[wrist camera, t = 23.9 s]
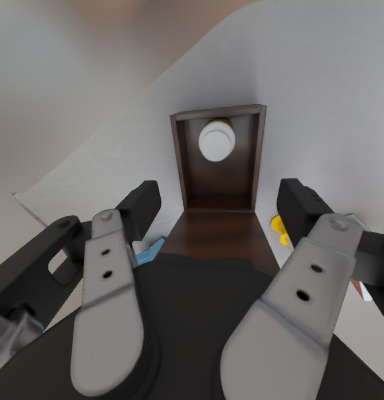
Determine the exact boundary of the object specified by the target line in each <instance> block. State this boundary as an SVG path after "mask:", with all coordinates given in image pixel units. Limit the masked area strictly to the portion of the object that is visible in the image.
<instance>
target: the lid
mask: <svg viewBox="0 0 384 400" xmlns="http://www.w3.org/2000/svg"><path fill="white" fill-rule="evenodd" d="M159 253H171V254H181V255H184V256H187V257H191V258H194V259H197V260H200V261H206V260H213V259H221V258H239V259H252V265H253V268H257V269H259V270H261V271H264V272H266V273H268V274H269V275H271V276H272V277H274V278H275V276H276V275H277V274H278V272H279V271H280V267H279V265H278V263H277V261H276V258H275V256H274V254H273V252H272V249H271V247H270V245H269V243H268V240H267V238H266V236H265V234H264V231H263V229H262V227H261V225H260V222H259V220H258V218H257V216H256V213H255V212H205V211H184V212H183V213H182V215H181V216H180V218H179V219H178V221H177V223H176V224H175V226H174V227H173V229H172V230H171V232H170V234H169V235H168V237H167V238H166V240H165V241H164V243H163V245H162V246H161V248H160V249H159V251H158V252H157V254H156V256H155V257H154V259H153V260H156V258H157V256H158V254H159Z"/></svg>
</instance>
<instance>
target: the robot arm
mask: <svg viewBox="0 0 384 400" xmlns="http://www.w3.org/2000/svg"><path fill="white" fill-rule="evenodd" d="M160 208H161V197H160V192H159V188H158V184H157V181H155V180H147V181H144V182H143V183H142V184H141V185H140V186H139V187H138V188H136V189H134V190H133V191H131V192H130V193H129V194H128V196H126V197H125V199H124V200H123V201H122V202H121V203H120V204H119V205H118V206H117V207H116V208H115V209H108V210H104V211H102V212H100V213H98V214H96V215H95V216H94V217H93V219H92V221H87V222H82V223H81V222H80V220H79V219H78V217H77V216H73V215H72V216H66V217H63V218H60V219H58V220H56V221H55V222H53V223H52V224H51V225H49V226H48V227H47V228H46V229H44V230H43V231H42V232H41V233H39V234H38V235H37V236H36V237H34V238H33V239H32V240H31V241H29V242H28V243H27V244H25V245H24V246H23V247H22V248H20V249H19V250H18V251H17V252H16V253H14V254H13V255H12V256H10V257H9V258H8V259H7V260H6V261H4V262H3V263H2V264H0V400H384V381H383V380H382V379H381V378H380V377H379V376H378V375H377V374H376V373H375V372H373V371H372V370H371V369H370V368H369V367H368V366H367V365H366V364H365V363H364V362H363V361H362V360H361V359H360V358H359V357H358V356H357V355H356V354H355V353H354V352H353V351H352V350H351V349H350V348H349V347H347V346H346V345H345V344H344V343H343V342H342V341H341V340H340V339H339V338H338V337H337V336H336V335H335V334H334V333H333V331H334V329H335V325H336V322H337V319H338V316H339V313H340V310H341V307H342V304H343V301H344V298H345V294H346V291H347V288H348V285H349V282H350V279H353V280H357V281H360V282H362V283H363V285H364V287H365V288H366V290H367V291H368V293H369V294H370V296H371V297H372V299H373V301H374V302H375V304H376V305H377V306H378V308H379V310H380V311H381V313H382V315H383V316H384V234H379V233H375V232H370V231H365V230H363V227H362V226H361V225H360V223H358V222H357V221H355V220H354V219H352V218H350V217H347V216H344V215H340V214H335V213H334V212H333V211H332V209H331V208H330V207H329V206H328V205H327V204H326V203H325V202H324V201H323V200H322V198H321V197H319V195H318V194H317V193H316V192H315V191H314V190H312V189H310V188H309V187H307V186H303V185H302V184H301V183H300V181H299V180H298V179H297V178H288V179H282V180H281V183H280V188H279V193H278V198H277V211H278V213H279V216H280V218H281V220H282V222H283V225H284V227H285V229H286V232H287V234H288V236H289V239H290V241H291V243H292V246H293V248H294V250H293V252H292V253H291V255H290V256H289V258H288V259H287V261H286V262H285V263H284V265H283V266H282V268H281V269H280V271H279V272H278V274H277V275H276V276H275V278H274V277H272V276H271V275H269V274H268V273H266V272H264V271H261V270H259V269H257V268H253V265H252V259H239V258H221V259H213V260H206V261H200V260H197V259H194V258H191V257H187V256H184V255H181V254H171V253H159V254H158V256H157V258H156V260H152V261H148V262H145V263H143V264H141V265H138V262H137V258H136V255H135V251H134V248H133V245H132V242H133V241H142V239H143V238H144V236H145V234H146V232H147V231H148V229H149V227H150V226H151V224H152V222H153V220H154V219H155V217H156V215H157V213H158V212H159V210H160ZM61 249H62V250H63V251H64V252H65V254H66V255H67V258H66V260H65V261H64V262H63V263H62V264H61V265H60V266H59V267H58V268H57V270H56V271H55V272H54V273H53V274H51V273H50V272H49V270H48V264H49V262H50V260H51V259H52V258H53V257H54V256H55V255H56V254H57V253H58V252H59V251H60V250H61ZM82 278H83V289H82V304H81V306H80V307H79V308H77V309H76V310H75V311H73V312H72V313H70V314H69V315H68V316H66V317H65V318H64V319H62V320H61V321H59V322H58V323H56V324H55V325H54V326H52V327H51V328H49V329H48V330H47V331H45V329H46V328H47V326H48V325H49V324H50V322H51V321H52V319H53V318H54V317H55V315H56V314H57V312H58V311H59V309H60V308H61V307H62V305H63V304H64V302H65V301H66V300H67V299H68V297H69V296H70V294H71V293H72V292H73V290H74V289H75V287H76V286H77V285H78V283H79V282H80V280H81V279H82ZM44 331H45V332H44ZM43 332H44V333H43Z"/></svg>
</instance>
